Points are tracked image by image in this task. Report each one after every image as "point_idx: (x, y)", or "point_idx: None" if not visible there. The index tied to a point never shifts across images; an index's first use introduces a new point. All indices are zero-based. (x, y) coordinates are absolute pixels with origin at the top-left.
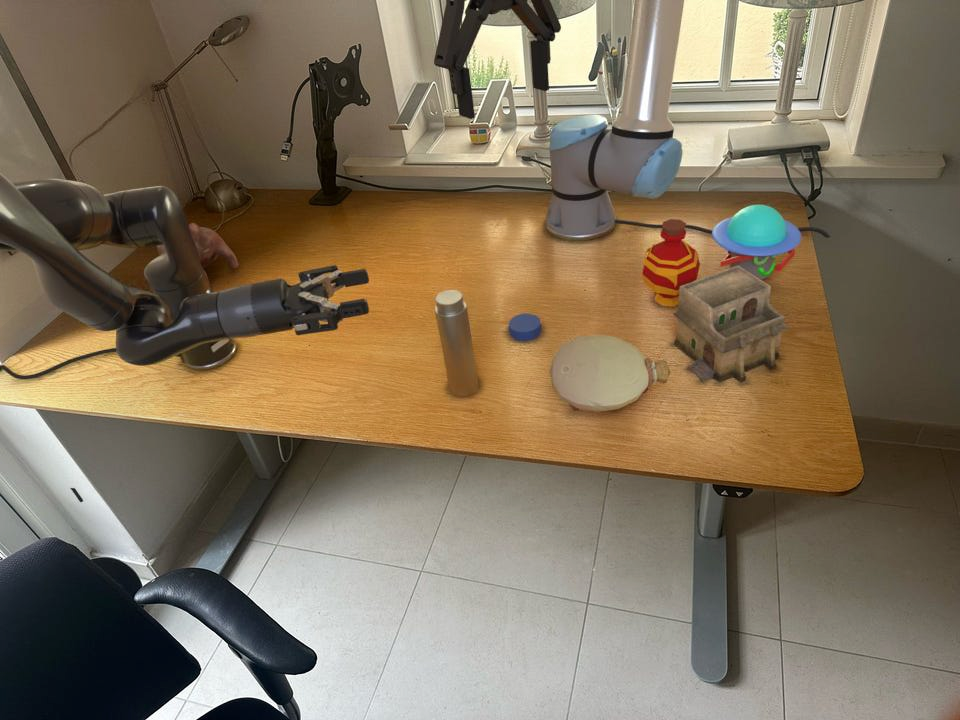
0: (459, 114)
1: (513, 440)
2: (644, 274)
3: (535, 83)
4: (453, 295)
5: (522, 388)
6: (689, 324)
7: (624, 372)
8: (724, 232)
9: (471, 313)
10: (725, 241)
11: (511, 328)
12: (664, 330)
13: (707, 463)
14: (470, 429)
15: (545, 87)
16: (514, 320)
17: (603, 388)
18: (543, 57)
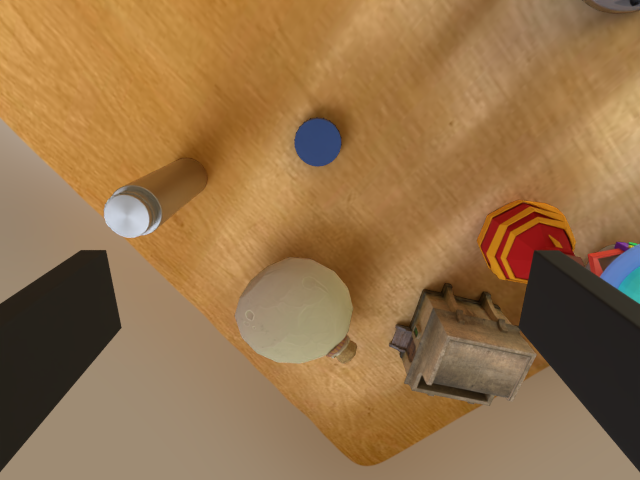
0: (80, 252)
1: (188, 281)
2: (491, 223)
3: (542, 279)
4: (135, 218)
5: (243, 227)
6: (424, 335)
7: (295, 357)
8: (636, 266)
9: (289, 35)
10: (609, 282)
11: (295, 140)
12: (439, 264)
13: (306, 402)
14: (158, 239)
15: (528, 336)
16: (310, 127)
17: (264, 354)
18: (620, 448)
